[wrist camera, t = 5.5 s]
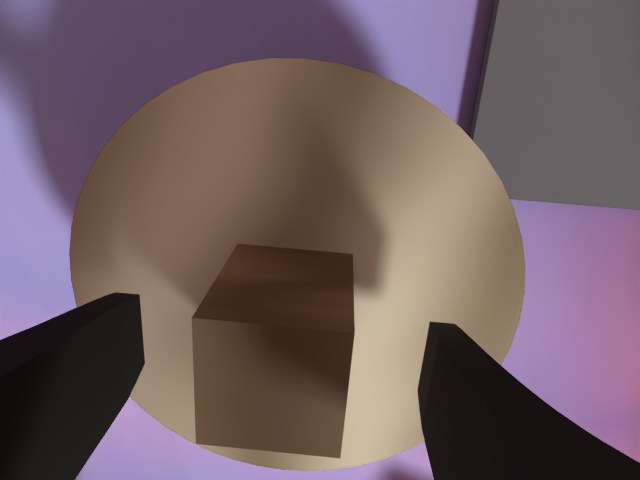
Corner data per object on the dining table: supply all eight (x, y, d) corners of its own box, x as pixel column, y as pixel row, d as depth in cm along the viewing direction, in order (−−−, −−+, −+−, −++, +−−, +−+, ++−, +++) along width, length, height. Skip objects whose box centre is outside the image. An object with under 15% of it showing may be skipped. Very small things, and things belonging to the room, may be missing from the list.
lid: (567, 78, 12) (706, 87, 7) (469, 469, 16) (516, 624, 12) (57, 39, 12) (-119, 24, 7) (105, 432, 17) (15, 569, 12)
